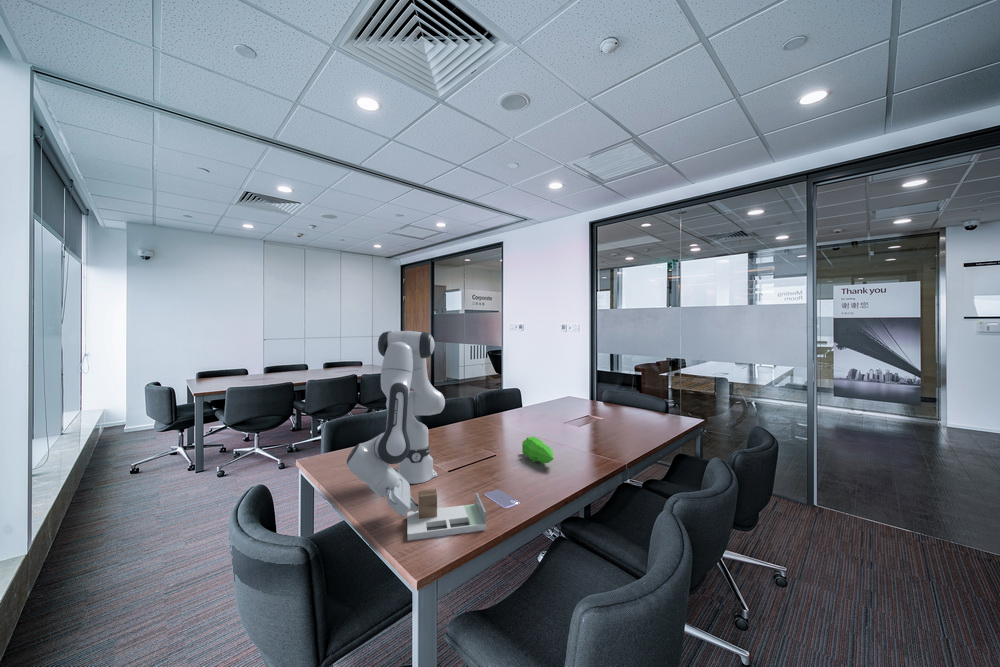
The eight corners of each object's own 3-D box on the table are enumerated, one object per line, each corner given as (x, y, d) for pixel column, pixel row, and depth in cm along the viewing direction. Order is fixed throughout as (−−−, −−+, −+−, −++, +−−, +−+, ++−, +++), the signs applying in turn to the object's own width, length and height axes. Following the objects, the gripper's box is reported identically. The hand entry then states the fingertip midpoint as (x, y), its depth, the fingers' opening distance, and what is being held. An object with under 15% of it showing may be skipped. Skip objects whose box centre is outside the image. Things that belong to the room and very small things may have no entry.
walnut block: (418, 511, 130) (418, 490, 130) (435, 509, 131) (435, 488, 131) (419, 518, 125) (419, 496, 125) (437, 516, 126) (437, 494, 126)
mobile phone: (498, 488, 153) (521, 501, 141) (498, 490, 153) (521, 504, 141) (483, 492, 149) (504, 507, 136) (483, 495, 149) (504, 509, 136)
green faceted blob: (530, 429, 202) (558, 442, 174) (538, 448, 203) (567, 464, 175) (513, 439, 198) (539, 454, 170) (520, 458, 199) (547, 476, 171)
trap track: (407, 517, 130) (407, 500, 130) (477, 509, 136) (477, 492, 136) (407, 540, 115) (407, 521, 115) (486, 530, 121) (485, 511, 121)
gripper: (393, 488, 115) (425, 515, 118) (395, 465, 135) (422, 489, 137) (378, 504, 114) (410, 531, 117) (382, 479, 134) (409, 503, 136)
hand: (416, 508), depth 127 cm, fingers closed, pressing on walnut block
